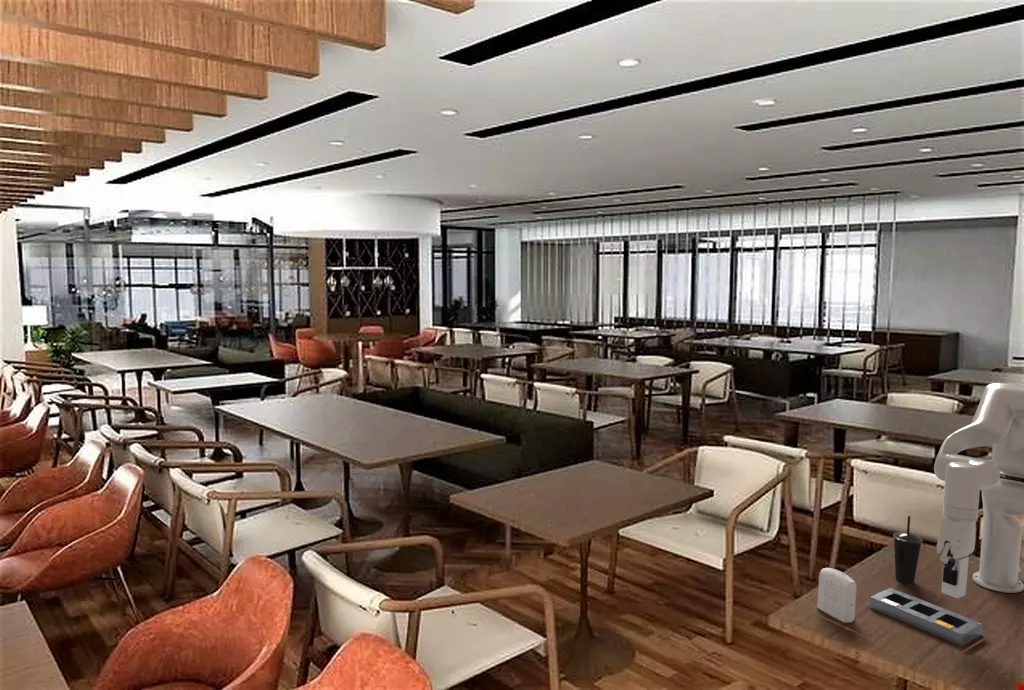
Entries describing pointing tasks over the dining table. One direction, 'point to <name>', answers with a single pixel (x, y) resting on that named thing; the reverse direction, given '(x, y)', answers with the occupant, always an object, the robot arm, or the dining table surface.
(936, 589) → the dining table surface
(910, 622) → the socket panel
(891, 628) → the dining table surface
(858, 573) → the dining table surface
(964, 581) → the plug
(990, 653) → the dining table surface
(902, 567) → the drinking cup
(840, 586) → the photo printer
